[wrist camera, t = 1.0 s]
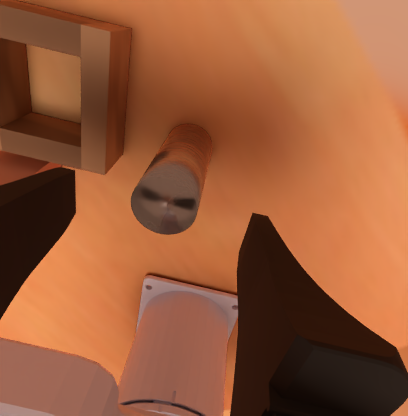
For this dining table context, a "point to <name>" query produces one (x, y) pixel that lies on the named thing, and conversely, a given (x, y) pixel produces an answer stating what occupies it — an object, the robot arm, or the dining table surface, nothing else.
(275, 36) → the dining table surface
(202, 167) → the cylinder
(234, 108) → the dining table surface
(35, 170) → the block
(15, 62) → the brown square frame
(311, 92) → the dining table surface
